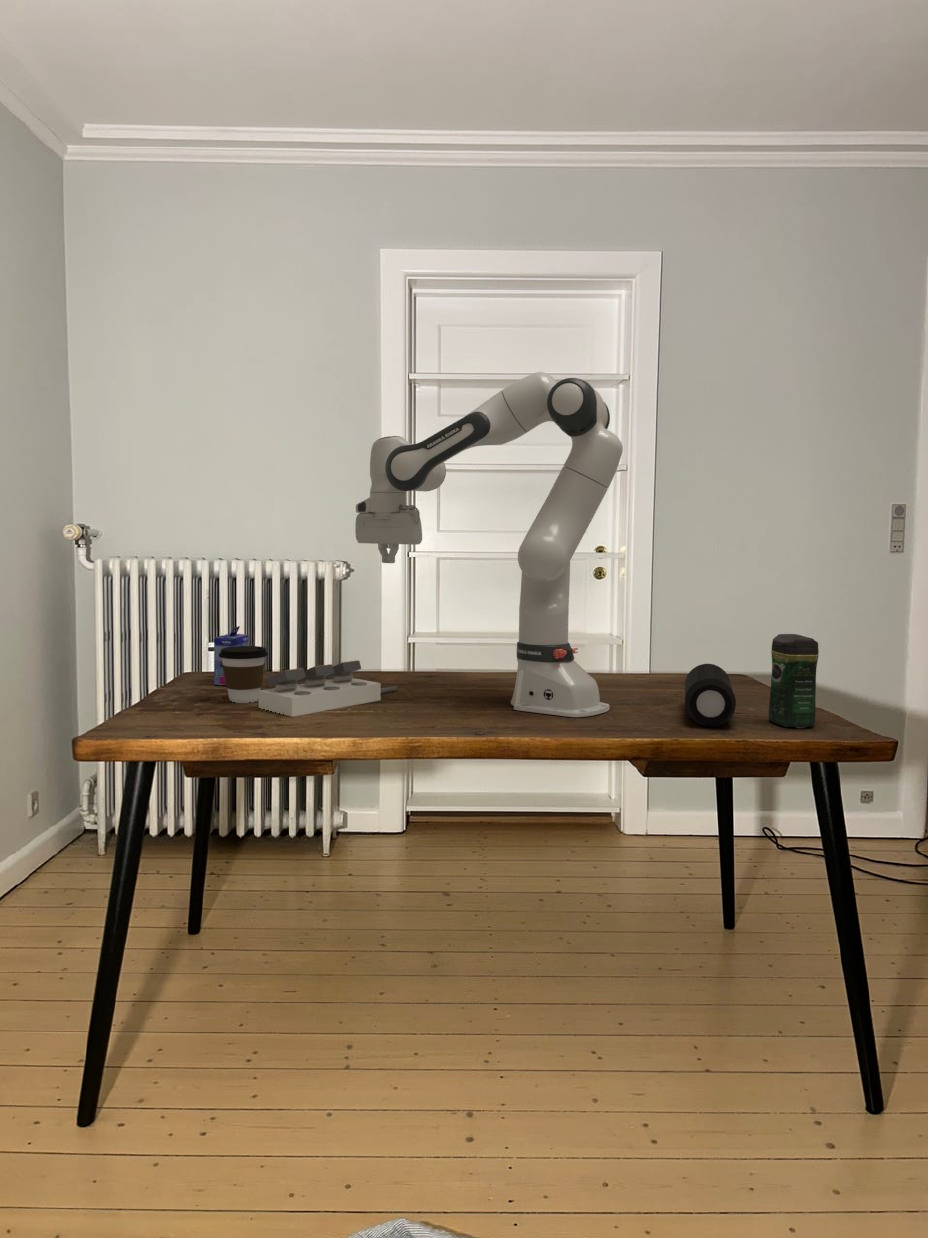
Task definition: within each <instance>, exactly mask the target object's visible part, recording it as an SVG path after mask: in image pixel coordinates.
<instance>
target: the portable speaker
mask: <svg viewBox="0 0 928 1238" xmlns="http://www.w3.org/2000/svg"><path fill="white" fill-rule="evenodd" d="M684 704H685V705H684V706H685V709H686V711H687V714H688V715H689V717H690V718H691V719H692V720H693V721H694V722H695V723H696V724H697V725H700V726H703V727H706V726H708V728H709V727H710V728H716V727H719V726H721V725H724V724H725V723H727V722H728V721H730V719H731V718H732V716H733V715H734V713H735V711H736V707H737V706H736V705H737V700H736V695H735V693H734V690H733V687H732V683H731V679H730V677H729V675H728V673H727V672H726V670H724V669H723V668H722V667H720V666H718V665H716V664H714V663H702V664H699V665H697V666H695V667H693V668H692V669H691V670H690V671H689V673H688V674H686V677H685V681H684Z"/></svg>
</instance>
